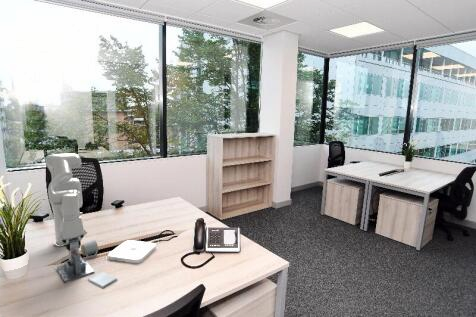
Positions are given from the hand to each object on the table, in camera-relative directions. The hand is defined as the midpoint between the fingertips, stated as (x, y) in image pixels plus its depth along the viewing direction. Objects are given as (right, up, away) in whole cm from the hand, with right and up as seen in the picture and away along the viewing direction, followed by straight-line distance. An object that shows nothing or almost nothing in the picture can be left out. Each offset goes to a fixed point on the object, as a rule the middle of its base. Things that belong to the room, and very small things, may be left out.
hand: (73, 248), depth 150 cm
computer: (+23, -11, +23) cm, 35 cm away
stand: (0, -13, +2) cm, 13 cm away
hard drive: (+19, -16, -6) cm, 25 cm away
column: (0, -9, +1) cm, 9 cm away
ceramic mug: (-1, -11, +20) cm, 22 cm away
